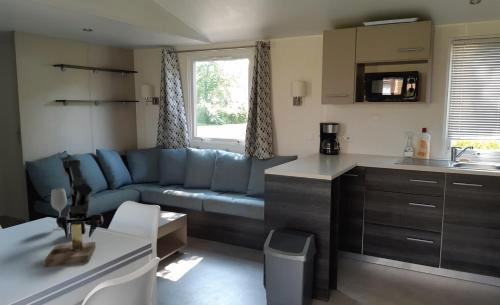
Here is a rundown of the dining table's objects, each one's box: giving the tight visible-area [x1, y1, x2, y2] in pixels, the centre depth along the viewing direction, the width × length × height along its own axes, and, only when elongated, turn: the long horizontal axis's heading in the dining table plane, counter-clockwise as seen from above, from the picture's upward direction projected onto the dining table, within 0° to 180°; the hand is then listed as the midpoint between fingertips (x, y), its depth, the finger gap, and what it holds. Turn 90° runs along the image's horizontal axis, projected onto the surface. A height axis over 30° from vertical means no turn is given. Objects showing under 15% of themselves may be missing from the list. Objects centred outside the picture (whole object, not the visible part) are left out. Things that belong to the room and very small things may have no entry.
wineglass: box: [50, 188, 68, 231], centre depth 196 cm, size 8×8×21 cm
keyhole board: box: [44, 241, 96, 267], centre depth 158 cm, size 16×16×3 cm
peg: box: [70, 223, 84, 251], centre depth 158 cm, size 4×4×14 cm
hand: (78, 237), depth 160 cm, fingers open, 9 cm apart
